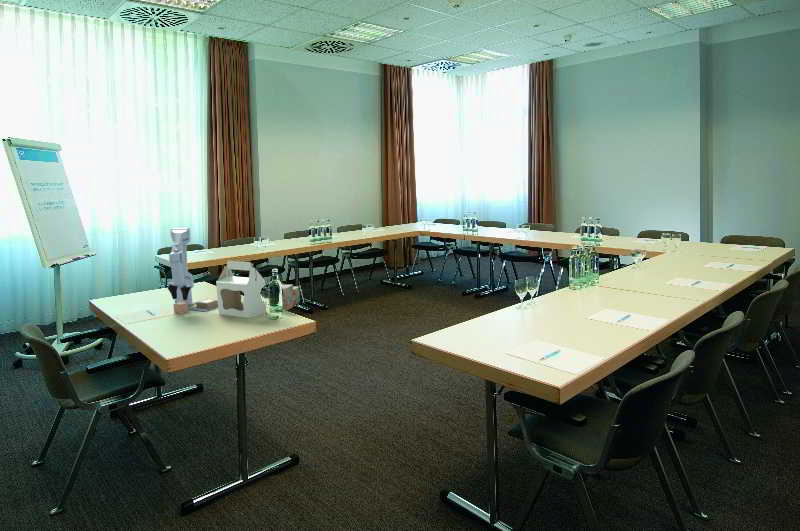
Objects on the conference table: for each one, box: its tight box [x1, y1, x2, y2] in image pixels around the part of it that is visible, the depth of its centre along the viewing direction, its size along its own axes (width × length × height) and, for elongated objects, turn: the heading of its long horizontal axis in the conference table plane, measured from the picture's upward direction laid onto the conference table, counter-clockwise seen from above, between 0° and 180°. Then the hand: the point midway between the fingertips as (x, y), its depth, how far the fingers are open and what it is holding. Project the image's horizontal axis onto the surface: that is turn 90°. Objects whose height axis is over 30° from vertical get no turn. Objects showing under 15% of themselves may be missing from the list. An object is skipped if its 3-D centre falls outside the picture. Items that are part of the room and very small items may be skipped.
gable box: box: [216, 260, 267, 319], centre depth 283 cm, size 22×13×28 cm, turn 63°
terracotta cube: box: [173, 302, 189, 314], centre depth 290 cm, size 5×5×5 cm
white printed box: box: [281, 284, 301, 312], centre depth 297 cm, size 21×6×12 cm, turn 169°
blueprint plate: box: [188, 298, 218, 313], centre depth 300 cm, size 12×16×4 cm
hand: (180, 299), depth 290 cm, fingers open, 7 cm apart
